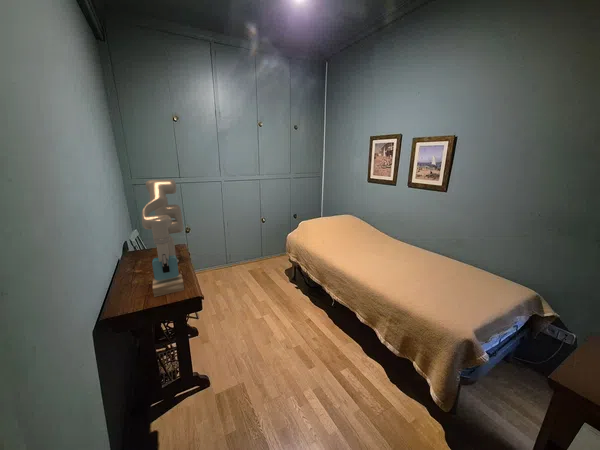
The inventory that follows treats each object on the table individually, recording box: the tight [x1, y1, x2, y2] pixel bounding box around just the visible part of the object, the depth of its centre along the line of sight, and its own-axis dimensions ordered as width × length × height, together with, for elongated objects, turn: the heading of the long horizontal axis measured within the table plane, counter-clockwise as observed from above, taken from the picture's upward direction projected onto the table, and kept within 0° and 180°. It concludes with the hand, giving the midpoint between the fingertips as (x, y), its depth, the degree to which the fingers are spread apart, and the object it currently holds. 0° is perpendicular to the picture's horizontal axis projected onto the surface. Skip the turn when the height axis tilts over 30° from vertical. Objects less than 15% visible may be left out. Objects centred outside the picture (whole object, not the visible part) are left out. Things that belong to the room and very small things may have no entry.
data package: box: [151, 255, 180, 281], centre depth 134 cm, size 12×4×12 cm, turn 119°
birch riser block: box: [152, 272, 185, 298], centre depth 137 cm, size 13×15×5 cm
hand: (166, 270), depth 135 cm, fingers closed on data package, 4 cm apart
